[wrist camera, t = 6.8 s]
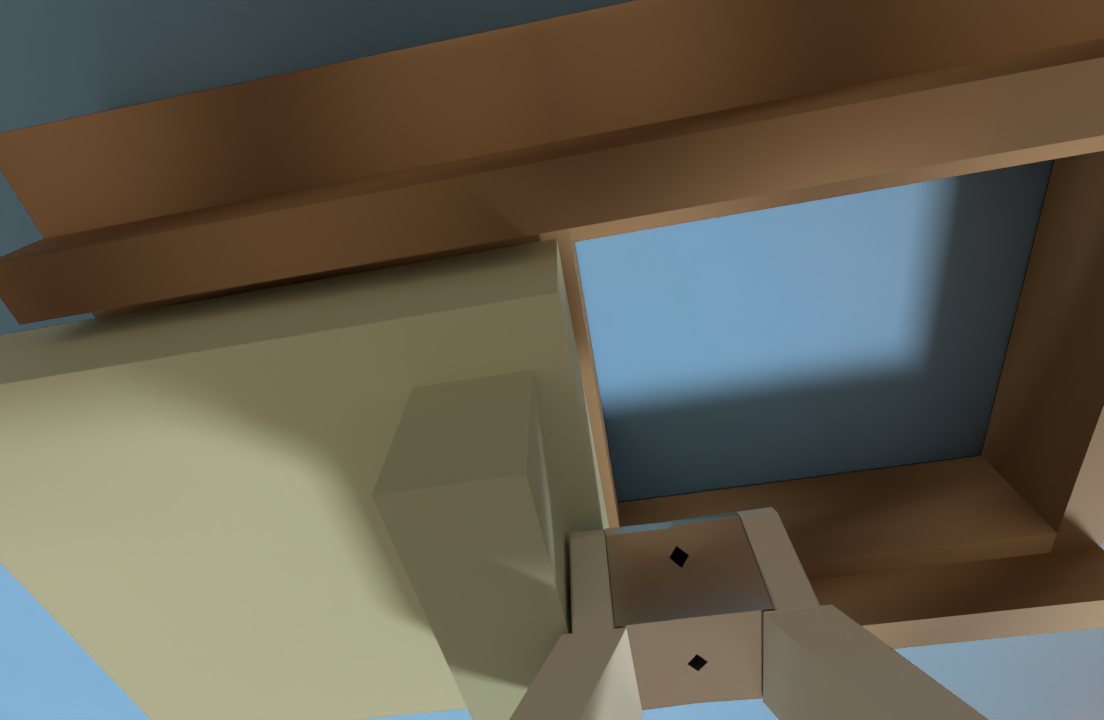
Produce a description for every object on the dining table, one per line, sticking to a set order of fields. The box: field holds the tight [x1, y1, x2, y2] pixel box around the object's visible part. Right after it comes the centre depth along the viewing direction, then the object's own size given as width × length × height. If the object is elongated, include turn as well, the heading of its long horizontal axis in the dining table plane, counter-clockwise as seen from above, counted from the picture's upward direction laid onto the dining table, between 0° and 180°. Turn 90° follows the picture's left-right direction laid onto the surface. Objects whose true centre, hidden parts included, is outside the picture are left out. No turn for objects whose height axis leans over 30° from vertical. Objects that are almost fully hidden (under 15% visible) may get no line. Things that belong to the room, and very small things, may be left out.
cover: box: [0, 239, 609, 720], centre depth 9 cm, size 10×8×4 cm
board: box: [0, 0, 1104, 649], centre depth 11 cm, size 18×14×4 cm
